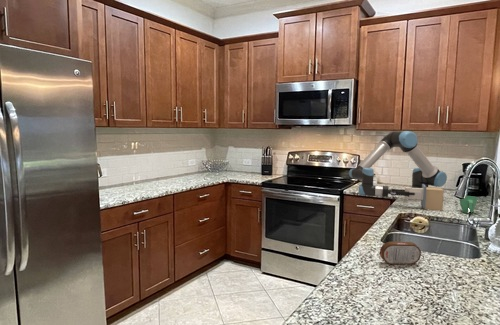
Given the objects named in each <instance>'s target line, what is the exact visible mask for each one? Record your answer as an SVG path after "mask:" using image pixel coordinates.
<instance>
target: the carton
mask: <svg viewBox="0 0 500 325" xmlns="http://www.w3.org/2000/svg"><path fill="white" fill-rule="evenodd" d="M444 192H445V190H444V189H443V188H442V187H432V186H431V187H430V186H428V187H426V203H425V209H429V210H428V211H437V210H440V211H439V212H442V211H443V209H444ZM425 209H424V210H425Z"/></svg>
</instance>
